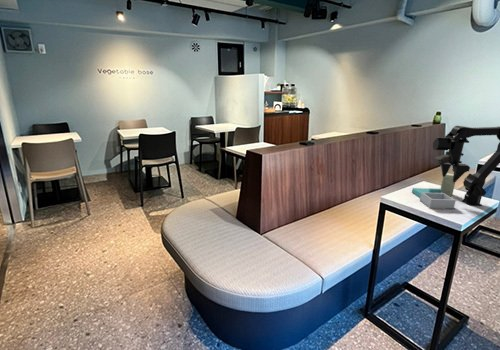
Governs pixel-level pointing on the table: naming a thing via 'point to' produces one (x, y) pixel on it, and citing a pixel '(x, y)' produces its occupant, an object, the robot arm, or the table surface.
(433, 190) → the lid
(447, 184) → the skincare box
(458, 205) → the table surface
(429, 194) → the tub
